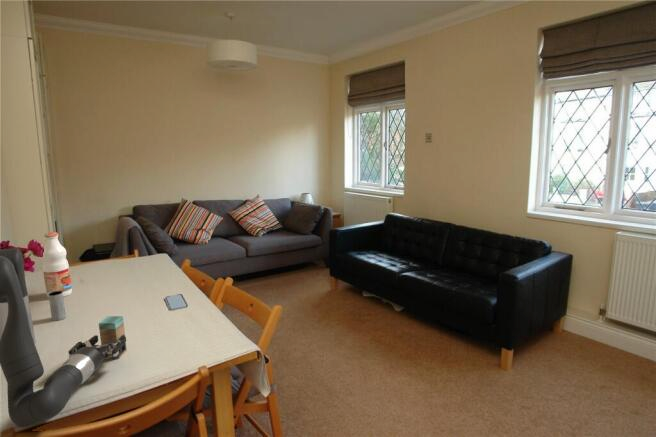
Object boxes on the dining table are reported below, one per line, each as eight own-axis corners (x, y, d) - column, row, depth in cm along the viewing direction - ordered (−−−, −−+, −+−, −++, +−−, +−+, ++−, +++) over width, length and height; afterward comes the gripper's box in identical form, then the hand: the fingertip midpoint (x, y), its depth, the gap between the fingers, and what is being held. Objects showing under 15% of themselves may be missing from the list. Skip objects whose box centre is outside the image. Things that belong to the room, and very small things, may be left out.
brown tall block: (103, 358, 125) (98, 323, 123) (111, 350, 130) (107, 316, 128) (119, 358, 125) (114, 323, 123) (126, 350, 130) (122, 316, 128)
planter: (64, 314, 156) (61, 290, 154) (67, 318, 153) (63, 293, 151) (50, 318, 153) (47, 293, 151) (53, 322, 150) (49, 296, 148)
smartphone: (169, 310, 159) (164, 296, 172) (170, 312, 160) (164, 299, 172) (188, 306, 163) (182, 293, 176) (189, 308, 163) (182, 295, 176)
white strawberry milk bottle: (49, 292, 179) (40, 232, 173) (73, 289, 183) (65, 230, 177) (44, 300, 171) (35, 237, 165) (70, 296, 174) (62, 234, 169)
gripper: (104, 354, 108) (132, 326, 124) (51, 354, 108) (86, 326, 124) (107, 379, 110) (134, 348, 126) (55, 379, 110) (89, 348, 126)
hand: (110, 337), depth 125 cm, fingers open, 8 cm apart
